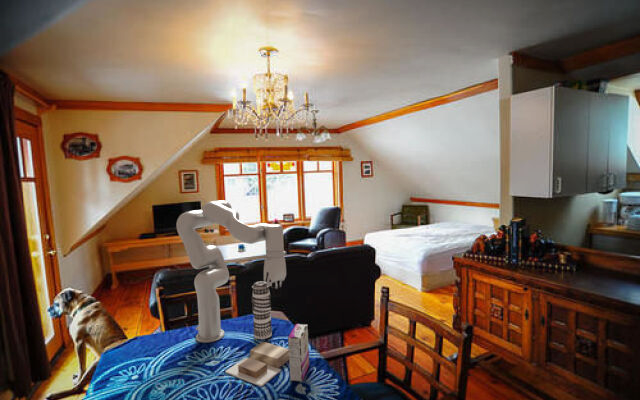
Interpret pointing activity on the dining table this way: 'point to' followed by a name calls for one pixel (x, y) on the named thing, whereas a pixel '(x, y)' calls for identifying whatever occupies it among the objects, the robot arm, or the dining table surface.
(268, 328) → the decorative candle
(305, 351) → the candy bar box
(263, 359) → the birch stand
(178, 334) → the dining table surface
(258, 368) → the walnut tile
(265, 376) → the off-white mat
